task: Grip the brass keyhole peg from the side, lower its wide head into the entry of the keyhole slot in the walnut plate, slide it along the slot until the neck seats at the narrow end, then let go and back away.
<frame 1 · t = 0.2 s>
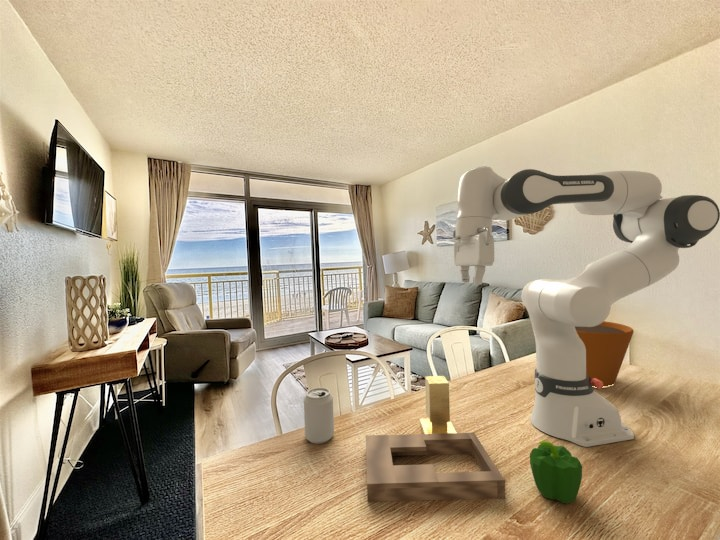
hand: (471, 283, 81), 39 cm above the table, tool pointing down, fingers open, 8 cm apart
can: (319, 437, 80), on the table
brass peg: (437, 431, 81), on the table
flower pot: (589, 381, 111), on the table
walnut keyhole plate: (427, 471, 66), on the table
bell pepper: (555, 494, 59), on the table
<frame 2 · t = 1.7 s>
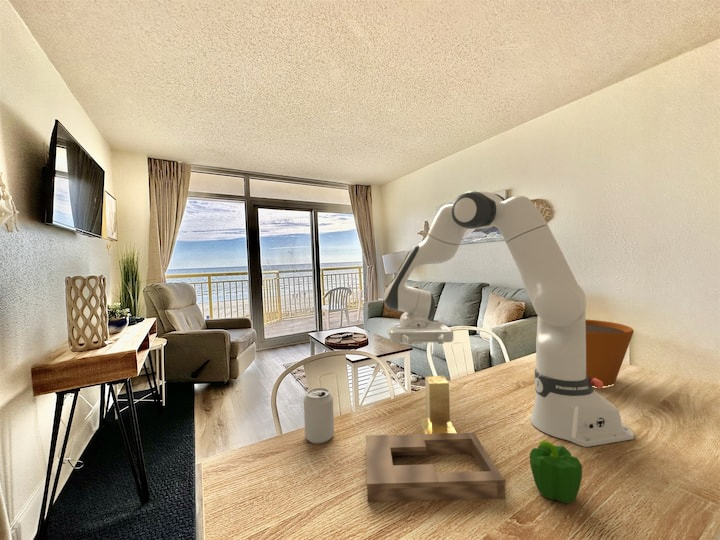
hand: (425, 341, 92), 21 cm above the table, tool horizontal, fingers open, 8 cm apart
nothing on the table moved.
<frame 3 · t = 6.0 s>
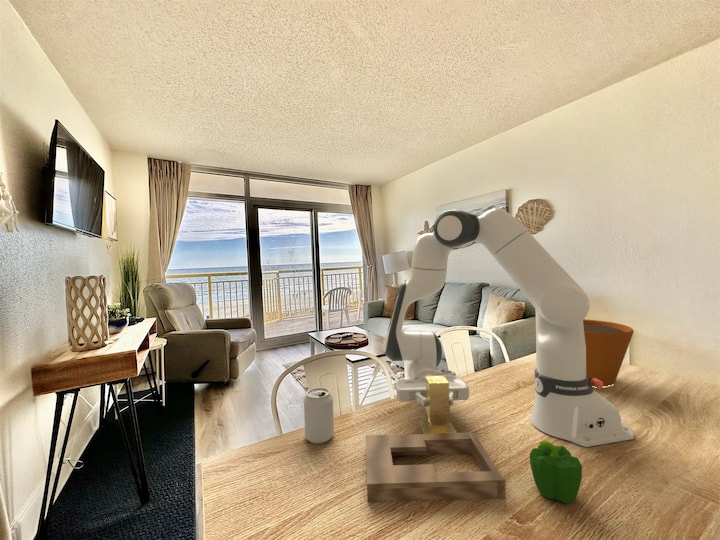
hand: (438, 403, 80), 8 cm above the table, tool horizontal, fingers closed on brass peg, 5 cm apart
brass peg: (437, 431, 81), on the table, touching gripper
everything else where it was.
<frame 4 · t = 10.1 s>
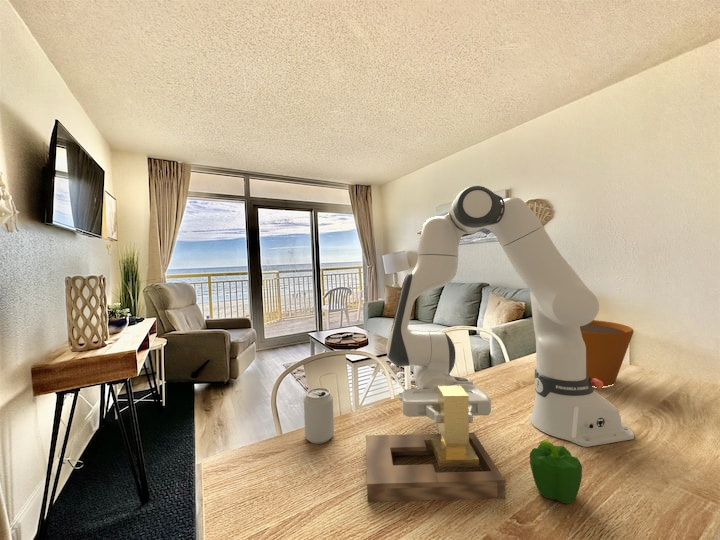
hand: (454, 419, 65), 11 cm above the table, tool horizontal, fingers closed on brass peg, 5 cm apart
brass peg: (453, 454, 66), point 3 cm above the table, touching gripper
everything else where it was.
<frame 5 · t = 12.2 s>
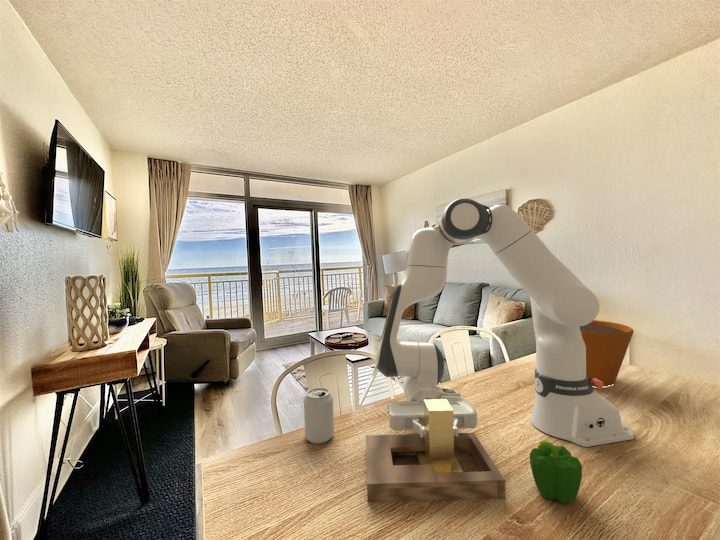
hand: (439, 434, 65), 8 cm above the table, tool horizontal, fingers closed on brass peg, 5 cm apart
brass peg: (439, 468, 66), resting in walnut keyhole plate, touching gripper
everything else where it was.
when the fingers open (8 cm above the table, at t = 14.3 s): brass peg stays where it is, resting in walnut keyhole plate.
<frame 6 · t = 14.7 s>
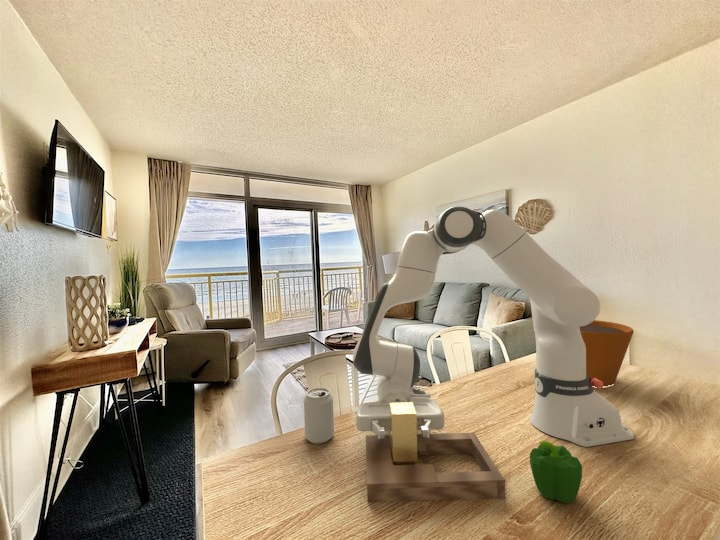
hand: (403, 435, 65), 8 cm above the table, tool horizontal, fingers open, 8 cm apart
brass peg: (404, 471, 66), resting in walnut keyhole plate
everything else where it was.
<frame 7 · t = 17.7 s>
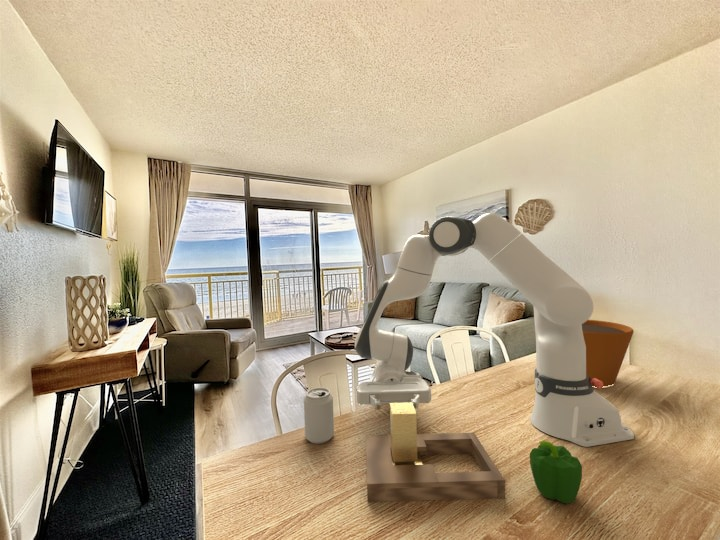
hand: (396, 406, 78), 9 cm above the table, tool horizontal, fingers open, 8 cm apart
nothing on the table moved.
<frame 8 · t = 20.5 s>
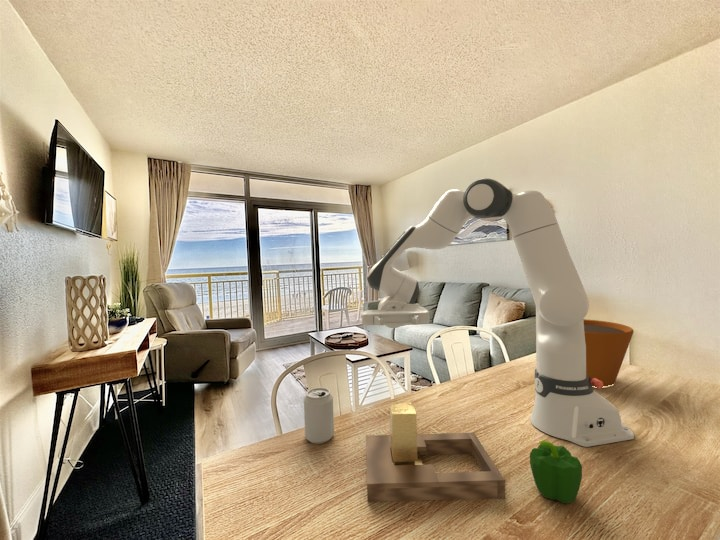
hand: (397, 322, 86), 28 cm above the table, tool horizontal, fingers open, 8 cm apart
nothing on the table moved.
at the end: brass peg 0.1 cm from the target spot on the walnut keyhole plate, point 0.0 cm above the walnut keyhole plate's base; brass peg tilted 0°; the gripper is holding nothing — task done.
